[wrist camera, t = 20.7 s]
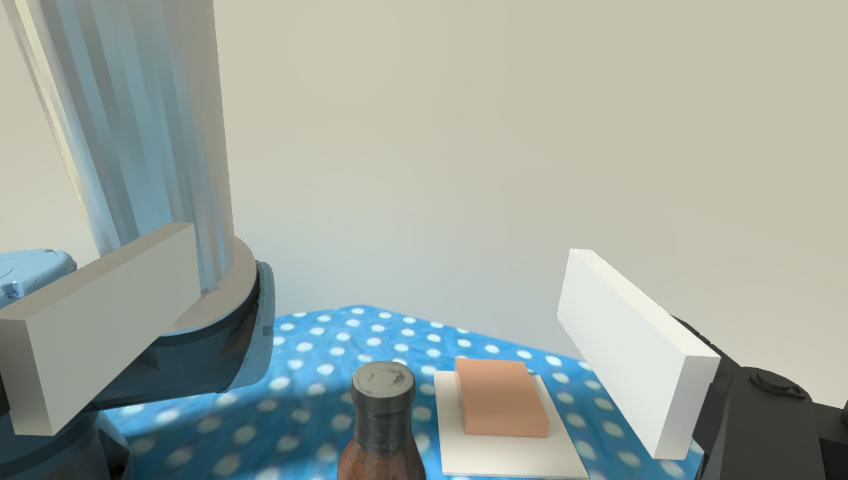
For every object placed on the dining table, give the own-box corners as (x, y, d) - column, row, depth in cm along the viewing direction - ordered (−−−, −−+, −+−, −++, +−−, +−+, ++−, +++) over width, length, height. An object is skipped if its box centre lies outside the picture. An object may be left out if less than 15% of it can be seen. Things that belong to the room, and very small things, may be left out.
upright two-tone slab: (550, 422, 50) (523, 361, 62) (466, 418, 49) (455, 358, 61) (546, 438, 51) (520, 375, 63) (464, 435, 50) (454, 372, 62)
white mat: (588, 479, 46) (589, 477, 46) (442, 475, 45) (443, 472, 45) (539, 377, 63) (540, 375, 63) (433, 372, 62) (433, 370, 62)
